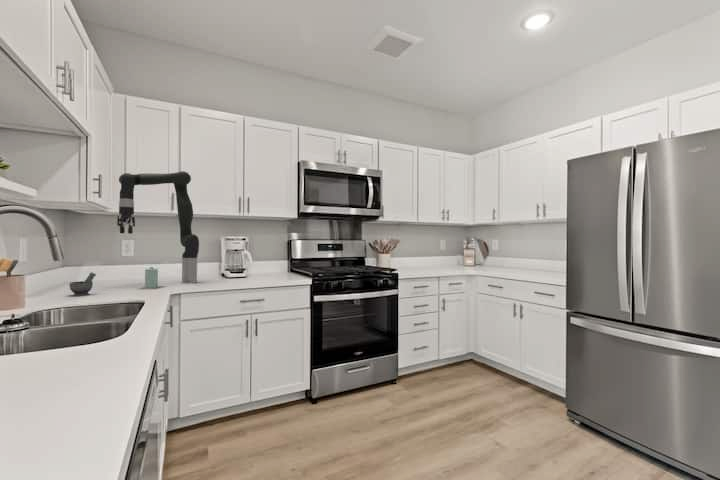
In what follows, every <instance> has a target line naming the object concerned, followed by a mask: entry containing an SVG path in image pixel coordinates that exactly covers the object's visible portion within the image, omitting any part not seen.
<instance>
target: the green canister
mask: <svg viewBox="0 0 720 480" xmlns="http://www.w3.org/2000/svg"><path fill="white" fill-rule="evenodd" d="M158 284H159V269H158V268H154V267H153V266H151V267H149V268H145V270H144V287H145V288H158V286H159V285H158Z"/></svg>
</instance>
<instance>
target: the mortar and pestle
mask: <svg viewBox="0 0 720 480" xmlns="http://www.w3.org/2000/svg"><path fill="white" fill-rule="evenodd" d="M96 275H97V274H96V273H95V272H90V273H89V274H88V276H87V277H86V278H85V280H84V281H73V282H72V281H71V282H69V290H70V291H71V292H72V293H73V296H75V297H80V296H81V297H82V296H84V297H85V296H88V295H89V292H90V291H91V290H92V288H93V283H94V282H93V279H94V278H95V277H96Z"/></svg>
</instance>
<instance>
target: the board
mask: <svg viewBox="0 0 720 480" xmlns="http://www.w3.org/2000/svg"><path fill="white" fill-rule="evenodd" d="M166 287H167V285H165V286H164V285H158V288H145V286H143V287H140V288H138V290H159V289H162V288H166Z"/></svg>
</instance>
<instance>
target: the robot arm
mask: <svg viewBox="0 0 720 480" xmlns="http://www.w3.org/2000/svg"><path fill="white" fill-rule="evenodd" d="M191 181H192V177H191V175H190V174H189V173H188V172H186V171H177V172H172V173H170V172H169V173H138V174H137V173H136V174H133V173H132V174H131V173H130V172H129V173H128V172H126V173H123V174H121V175H120V176H119V178H118V182H119V184H120V190H119V200H118V214H119V215H117V221H116V222H117V223H116V224H117V226H118V227H119V233H120V234H125V226H127V227H128V229H127V233H128V234H129V235H132V234H133V228H134V227H135V226H136V218H135V216H134V214H135V202H134V199H135V198H134V194H135V193H134V190H135V186H151V185H152V186H153V185H164V184H165V185H166V184H173V186H174V190H175V197H176V198H175V199H176V206H177V207H176V209H177V215H178V224H179V230H180V231H179V232H180V234H179V236H180V237H179V240H180V241H179V242H180V245H182V247H184V252H183V253H182V256H181V258H182V259H181V264H182V265H181V284H183V283H184V284H185V285H186V284H187V285H188V284H189V285H190V283H191V284H198V254H199V248H200V239H199V237H198V235H196V234H193V233H192V223H193V219H194V209H193V204H192V200H191V199H190V196H189V194H188V184H190V182H191Z"/></svg>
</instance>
